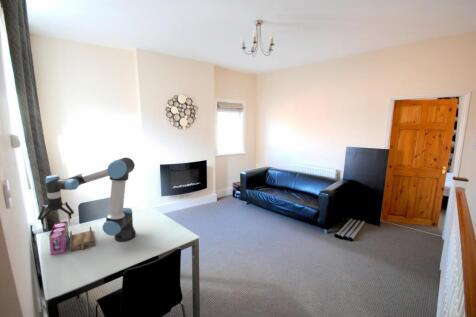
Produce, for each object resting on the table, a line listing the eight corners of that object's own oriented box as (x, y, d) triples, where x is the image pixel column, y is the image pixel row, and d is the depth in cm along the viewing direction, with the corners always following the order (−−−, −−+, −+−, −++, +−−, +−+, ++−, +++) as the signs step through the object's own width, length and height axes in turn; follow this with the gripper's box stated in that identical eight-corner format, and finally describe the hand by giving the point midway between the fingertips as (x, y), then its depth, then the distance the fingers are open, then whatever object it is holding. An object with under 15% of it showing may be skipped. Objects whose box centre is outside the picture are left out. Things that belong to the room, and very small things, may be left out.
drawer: (91, 231, 189) (90, 222, 187) (94, 246, 166) (93, 236, 165) (70, 236, 180) (69, 226, 179) (70, 253, 158) (69, 242, 156)
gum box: (64, 253, 158) (62, 234, 156) (50, 256, 154) (47, 237, 152) (69, 237, 178) (67, 221, 176) (56, 240, 174) (54, 223, 172)
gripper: (76, 192, 171) (78, 219, 175) (31, 198, 156) (35, 227, 160) (76, 195, 165) (78, 223, 169) (30, 202, 150) (33, 232, 154)
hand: (57, 225), depth 164 cm, fingers open, 13 cm apart
